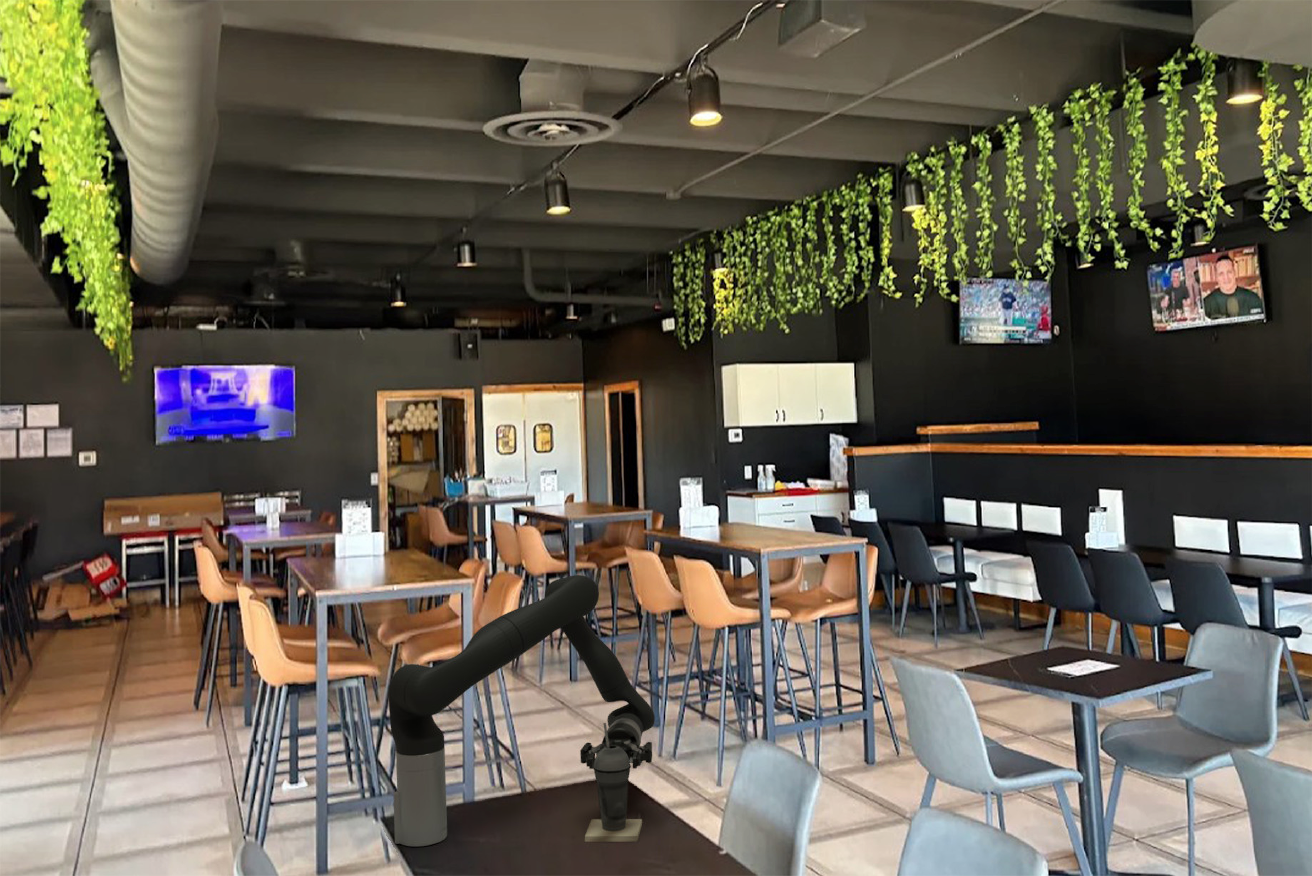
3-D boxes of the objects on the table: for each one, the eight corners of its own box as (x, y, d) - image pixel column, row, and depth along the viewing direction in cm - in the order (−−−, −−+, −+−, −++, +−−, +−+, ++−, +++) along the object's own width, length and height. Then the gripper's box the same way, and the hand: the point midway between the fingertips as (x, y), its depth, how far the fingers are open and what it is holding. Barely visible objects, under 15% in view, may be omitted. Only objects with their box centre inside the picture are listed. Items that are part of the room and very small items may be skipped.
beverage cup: (628, 834, 193) (624, 728, 193) (590, 833, 194) (587, 727, 195) (636, 821, 200) (633, 718, 201) (600, 819, 202) (597, 718, 202)
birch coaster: (584, 841, 193) (584, 836, 193) (591, 824, 202) (591, 819, 202) (637, 841, 192) (637, 836, 192) (642, 824, 201) (641, 819, 201)
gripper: (588, 723, 215) (575, 744, 199) (655, 722, 214) (648, 743, 198) (589, 758, 215) (577, 783, 199) (656, 758, 214) (649, 782, 197)
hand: (612, 763), depth 198 cm, fingers open, 8 cm apart
